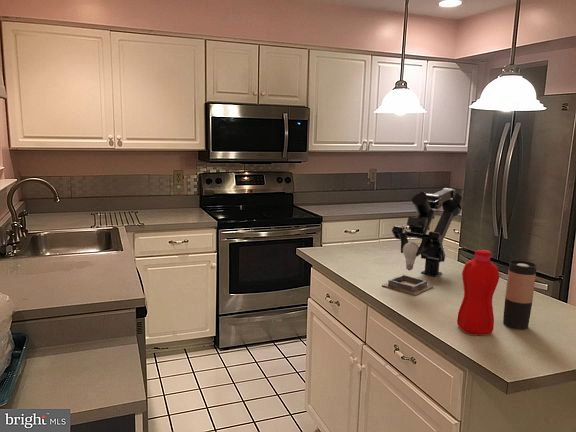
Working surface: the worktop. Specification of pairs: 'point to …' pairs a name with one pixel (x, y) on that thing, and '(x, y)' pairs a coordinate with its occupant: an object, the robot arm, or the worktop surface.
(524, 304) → the travel mug
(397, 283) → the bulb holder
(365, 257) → the worktop surface
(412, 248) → the lightbulb
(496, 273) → the water bottle
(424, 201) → the robot arm
